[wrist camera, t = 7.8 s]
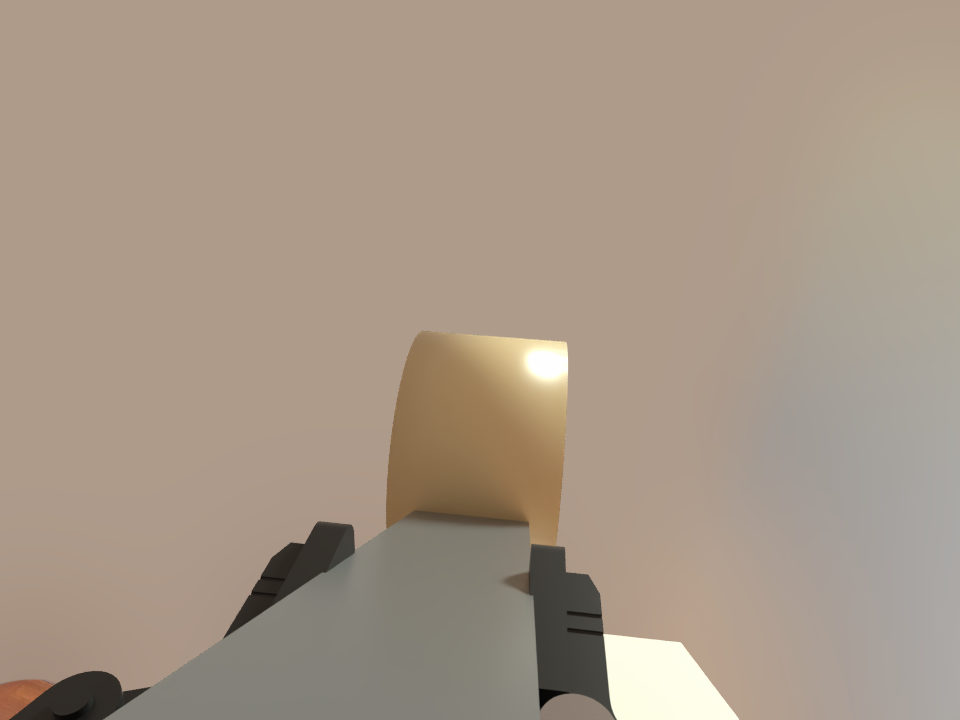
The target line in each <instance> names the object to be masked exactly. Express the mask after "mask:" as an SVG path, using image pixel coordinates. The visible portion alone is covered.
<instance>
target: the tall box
mask: <svg viewBox="0 0 960 720" xmlns="http://www.w3.org/2000/svg"><path fill="white" fill-rule="evenodd" d="M603 636H604V642H605V653H606V663H607V673H608V684H609V694H610V702H611V707H612V710H613V713H614V715H615V717H616V719H617V720H739V719H738V717H737V716H736V715H735V713H734V712H733V711H732V709H731V708H730V707H729V705H728V704H727V703H726V702H725V700H724V699H723V698H722V696H721V695H720V694H719V692H718V691H717V690H716V688H715V687H714V686H713V684H712V683H711V682H710V680H709V679H708V678H707V677H706V675H705V674H704V673H703V671H702V670H701V669H700V668H699V666H698V665H697V663H696V662H695V661H694V660H693V658H692V657H691V655H690V654H689V653H688V652H687V650H686V649H685V648H684V646H683V645H682V644H681V643H680V642H671V641H662V640H652V639H642V638H634V637H625V636H616V635H607V634H603Z"/></svg>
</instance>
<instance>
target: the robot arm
mask: <svg viewBox="0 0 960 720" xmlns="http://www.w3.org/2000/svg"><path fill="white" fill-rule="evenodd" d="M354 546H355V545H354V530H353V527H352V525H349V524H339V523H330V522H317V524H316V525H315V526H314V528H313V530H312V532H311V534H310V535H309V537H308V539H307V541H306V543H305V544H299V543H290V544H289V545H287V546H286V547H285V548H284V549H282V550H281V551H280V552H278V553H277V554H276V555H275V556H273V557H272V558H271V560H270V562H269V563H268V565H267V567H266V568H265V570H264V572H263V573H262V575H261V579H260V580H258V582H257V583H256V585H255V587H254V588H253V590H252V593H251V595H249V596H248V598H247V600H246V601H245V603H244V605H243V606H242V608H241V610H240V611H239V613H238V615H237V616H236V618H235V620H234V622H233V623H232V625H231V626H230V628H229V630H228V631H227V633H226V635H225V636H224V638H225V637H227V636H228V635H230V634H231V633H233V632H234V631H236V630H237V629H239V628H240V627H242V626H243V625H245V624H246V623H248V622H249V621H251V620H252V619H254V618H255V617H257V616H258V615H260V614H261V613H263V612H264V611H266V610H267V609H269V608H270V607H272V606H273V605H275V604H276V603H277V602H279V601H280V600H282V599H283V598H285V597H286V596H288V595H289V594H291V593H292V592H294V591H295V590H297V589H298V588H300V587H301V586H303V585H304V584H306V583H307V582H309V581H310V580H312V579H313V578H315V577H316V576H318V575H319V574H321V573H326V572H328V571H329V570H331V569H332V568H334V567H335V566H337V565H338V564H339V563H341V562H342V561H344V560H345V559H347V558H348V557H350V556H351V555H353V554H354V553H355V547H354ZM529 595H531V596H533V600H534V618H535V636H536V653H537V671H538V689H539V706H540V720H617V719H616V717H615V715H614V713H613V710H612V707H611V702H610V694H609V684H608V673H607V663H606V653H605V642H604V636H603V622H602V612H601V601H600V593H599V592H598V590H597V588H596V587H595V585H594V584H593V582H592V580H591V579H590V577H589V575H586V574H576V573H567V572H566V568H565V547H557V546H548V545H538V544H531V552H530V563H529ZM224 638H223V639H224ZM149 688H151V687H148V688H142V689H136V690H131V691H124V692H122V689H121V685H120V682H119V681H118V679H117V678H116V677H115V676H113V675H112V674H109V673H107V672H102V671H91V672H84V673H80V674H76V675H74V676H71V677H68V678H66V679H64V680H62V681H60V682H59V683H57V684H55V685H54V686H52V687H51V688H49V689H48V690H47V691H45V692H44V693H43V694H41V695H40V696H39V697H38V698H36V699H35V700H34V701H33V702H31V703H30V704H29V705H27V706H26V707H25V708H24V709H22V710H21V711H20V712H19V713H17V714H16V715H15V716H13V717H12V718H11V719H10V720H103V719H105V718H106V717H108V716H109V715H111V714H112V713H114V712H115V711H117V710H118V709H120V708H121V707H123V706H124V705H126V704H127V703H129V702H130V701H132V700H133V699H135V698H136V697H138V696H139V695H141V694H142V693H144V692H145V691H147V690H148V689H149Z"/></svg>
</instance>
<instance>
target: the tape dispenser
mask: <svg viewBox="0 0 960 720" xmlns="http://www.w3.org/2000/svg"><path fill="white" fill-rule="evenodd" d="M567 385H568V354H567V344H566V342H559V341H546V340H533V339H520V338H508V337H495V336H481V335H468V334H456V333H442V332H429V331H421V332H420V333H419V334H418V335H417V337H416V338H415V340H414V342H413V344H412V346H411V349H410V351H409V354H408V357H407V361H406V363H405V367H404V371H403V375H402V379H401V383H400V388H399V393H398V397H397V403H396V409H395V415H394V422H393V428H392V436H391V444H390V454H389V464H388V478H387V501H386V524H387V529H386V530H385V531H383V532H382V533H380V534H379V535H377V536H376V537H374V538H373V539H371V540H370V541H368V542H367V543H365V544H364V545H362V546H361V547H359V548H358V549H356V550H355V553H354V554H353V555H351V556H350V557H348V558H347V559H345V560H344V561H342V562H341V563H339V564H338V565H337V566H335V567H334V568H332V569H331V570H329V571H328V572H326V573H321V574H319V575H318V576H316V577H315V578H313V579H312V580H310V581H309V582H307V583H306V584H304V585H303V586H301V587H300V588H298V589H297V590H295V591H294V592H292V593H291V594H289V595H288V596H286V597H285V598H283V599H282V600H280V601H279V602H277V603H276V604H275V605H273V606H272V607H270V608H269V609H267V610H266V611H264V612H263V613H261V614H260V615H258V616H257V617H255V618H254V619H252V620H251V621H249V622H248V623H246V624H245V625H243V626H242V627H240V628H239V629H237V630H236V631H234V632H233V633H231V634H230V635H228V636H227V637H225V638H224V639H222V640H221V641H219V642H218V643H216V644H215V645H213V646H212V647H211V648H209V649H208V650H206V651H205V652H203V653H202V654H200V655H199V656H197V657H196V658H194V659H193V660H191V661H190V662H189V663H187V664H185V665H184V666H182V667H181V668H179V669H178V670H177V671H175V672H173V673H172V674H171V675H169V676H167V677H166V678H164V679H163V680H162V681H160V682H158V683H157V684H155V685H154V686H152V687H151V688H149V689H148V690H147V691H145V692H144V693H142V694H141V695H139V696H138V697H136V698H135V699H133V700H132V701H130V702H129V703H127V704H126V705H124V706H123V707H121V708H120V709H118V710H117V711H115V712H114V713H112V714H111V715H109V716H108V717H106V718H105V719H103V720H540V706H539V689H538V671H537V653H536V636H535V618H534V600H533V596H531V595H529V563H530V552H531V544H538V545H548V546H556V541H557V540H556V539H557V532H558V522H559V511H560V500H561V489H562V477H563V462H564V447H565V432H566V413H567Z"/></svg>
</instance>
